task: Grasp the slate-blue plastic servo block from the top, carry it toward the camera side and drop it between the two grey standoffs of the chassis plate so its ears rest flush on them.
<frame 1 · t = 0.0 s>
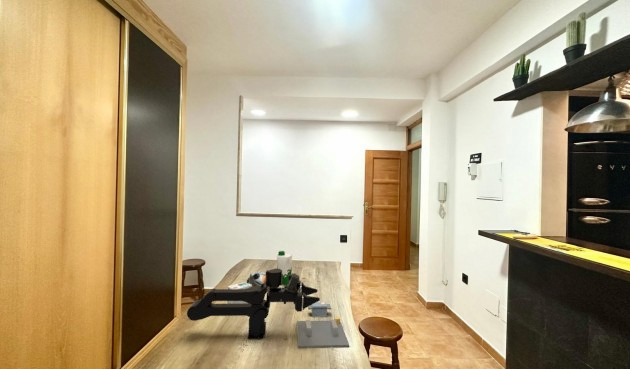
hand: (318, 294, 118), 17 cm above the table, tool horizontal, fingers open, 9 cm apart
servo block: (318, 314, 136), on the table
lucky cat figurine: (259, 290, 167), on the table
light bulb box: (239, 306, 143), on the table
chassis plate: (321, 333, 118), on the table
milk carton: (283, 283, 179), on the table
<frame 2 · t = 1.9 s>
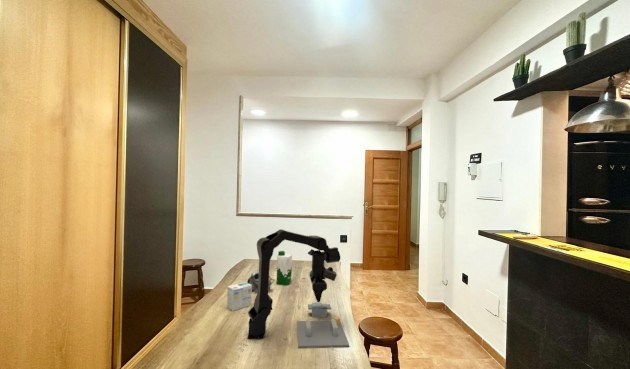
hand: (317, 297, 128), 11 cm above the table, tool pointing down, fingers open, 9 cm apart
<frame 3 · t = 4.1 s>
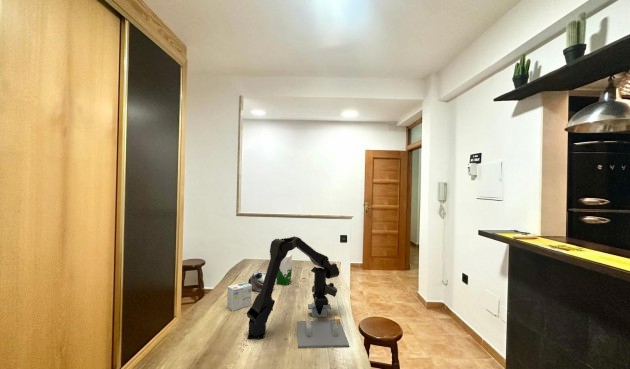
hand: (319, 312, 136), 1 cm above the table, tool pointing down, fingers closed on servo block, 4 cm apart
servo block: (318, 314, 136), on the table, touching gripper
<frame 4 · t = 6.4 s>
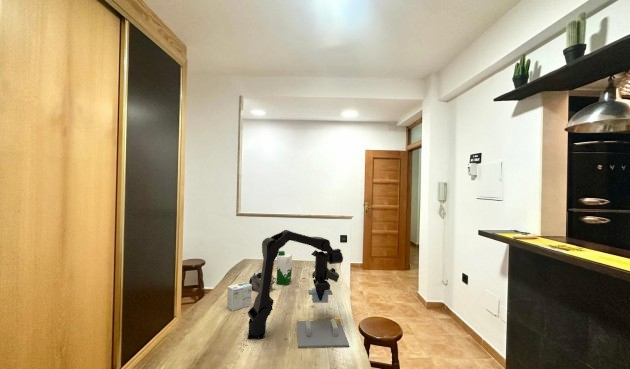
hand: (319, 298, 130), 10 cm above the table, tool pointing down, fingers closed on servo block, 4 cm apart
servo block: (319, 300, 130), point 9 cm above the table, touching gripper
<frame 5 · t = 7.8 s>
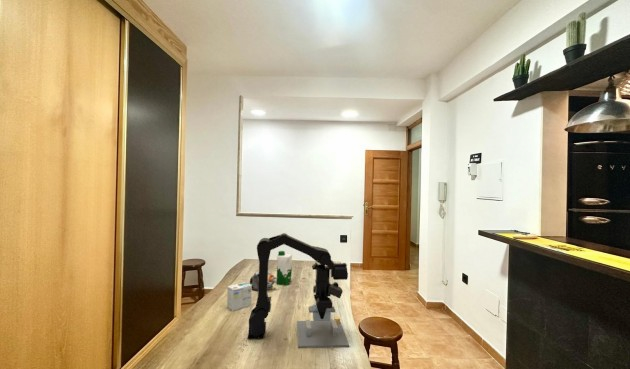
hand: (321, 316, 119), 8 cm above the table, tool pointing down, fingers closed on servo block, 4 cm apart
servo block: (321, 318, 119), point 6 cm above the table, touching gripper
when the fingers open (4 cm above the table, at t = 8.7 s): servo block drops 2 cm, resting on chassis plate.
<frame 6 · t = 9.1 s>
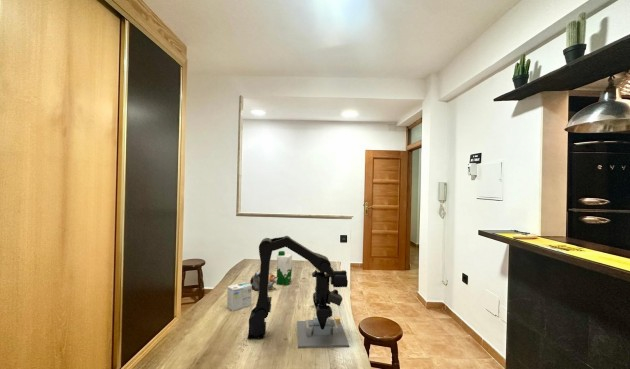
hand: (321, 323, 118), 4 cm above the table, tool pointing down, fingers open, 9 cm apart
servo block: (321, 332, 118), point 1 cm above the table, touching chassis plate
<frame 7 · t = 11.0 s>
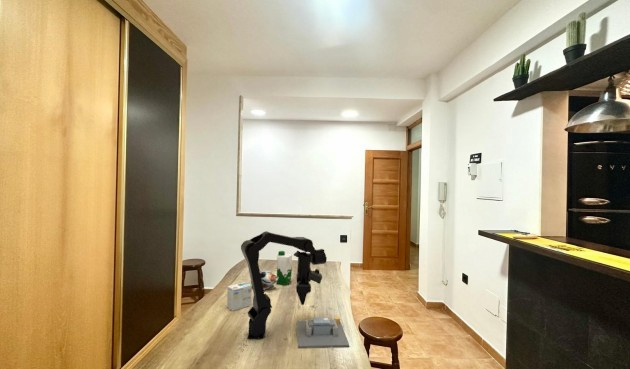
hand: (302, 300, 126), 11 cm above the table, tool pointing down, fingers open, 9 cm apart
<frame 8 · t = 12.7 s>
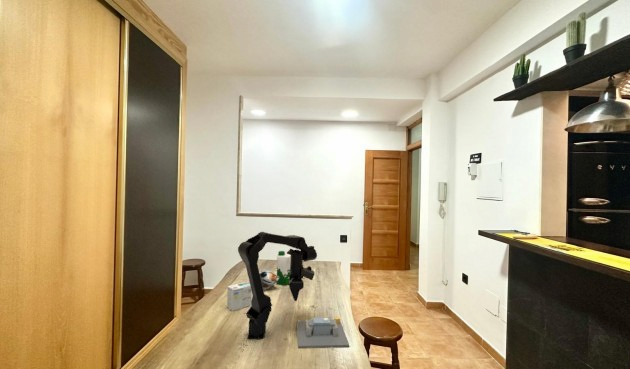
hand: (295, 296, 130), 11 cm above the table, tool pointing down, fingers open, 9 cm apart
at the end: servo block 0.0 cm off-centre on the chassis plate, point 0.8 cm above the chassis plate's base; servo block tilted 0°; the gripper is holding nothing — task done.
